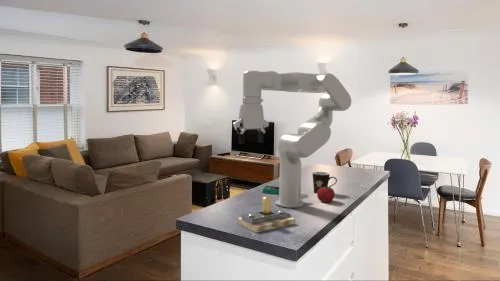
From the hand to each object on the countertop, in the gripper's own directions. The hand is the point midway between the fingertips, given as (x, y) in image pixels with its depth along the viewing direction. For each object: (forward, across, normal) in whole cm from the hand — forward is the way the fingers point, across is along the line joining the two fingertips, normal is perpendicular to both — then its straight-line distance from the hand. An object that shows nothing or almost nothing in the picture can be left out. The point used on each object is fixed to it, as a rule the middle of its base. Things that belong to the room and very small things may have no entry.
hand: (251, 143), depth 155 cm
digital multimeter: (+29, -30, -18) cm, 45 cm away
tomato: (+29, -38, +7) cm, 48 cm away
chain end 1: (+26, +8, +18) cm, 33 cm away
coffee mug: (+28, -48, -5) cm, 56 cm away
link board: (+28, +5, +18) cm, 34 cm away
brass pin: (+28, +5, +18) cm, 34 cm away
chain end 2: (+26, +2, +18) cm, 32 cm away
